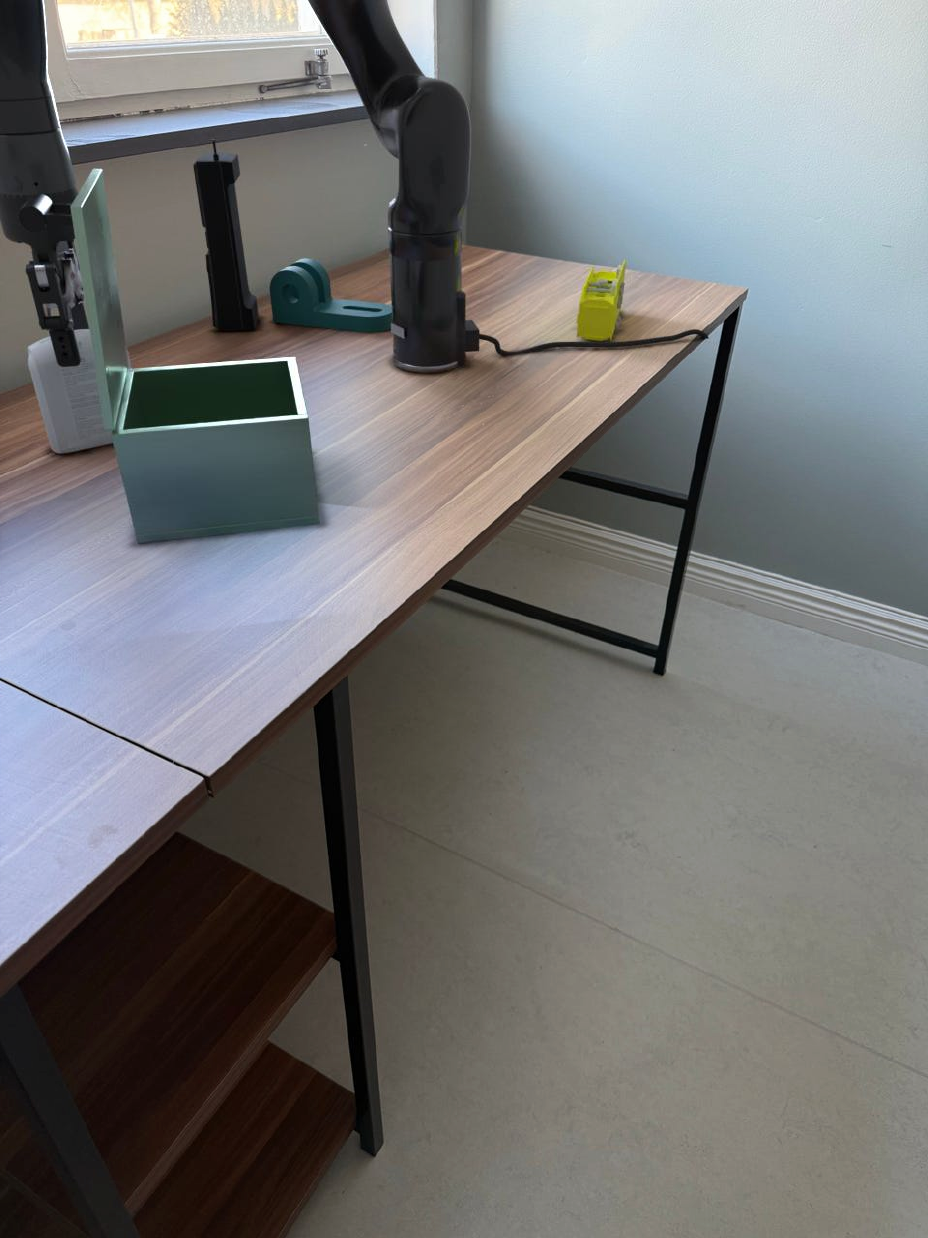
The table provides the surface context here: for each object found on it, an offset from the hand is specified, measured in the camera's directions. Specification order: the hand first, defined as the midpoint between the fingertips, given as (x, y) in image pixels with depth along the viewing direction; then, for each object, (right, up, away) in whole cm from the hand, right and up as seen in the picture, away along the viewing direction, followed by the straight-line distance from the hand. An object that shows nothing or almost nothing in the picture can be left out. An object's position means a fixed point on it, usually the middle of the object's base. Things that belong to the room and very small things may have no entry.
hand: (75, 351), depth 94 cm
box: (+17, -16, -4) cm, 24 cm away
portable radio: (+7, +16, +40) cm, 43 cm away
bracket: (+22, +17, +41) cm, 49 cm away
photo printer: (0, -8, +6) cm, 11 cm away
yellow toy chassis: (+62, +15, +39) cm, 75 cm away
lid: (+10, 0, -17) cm, 20 cm away
